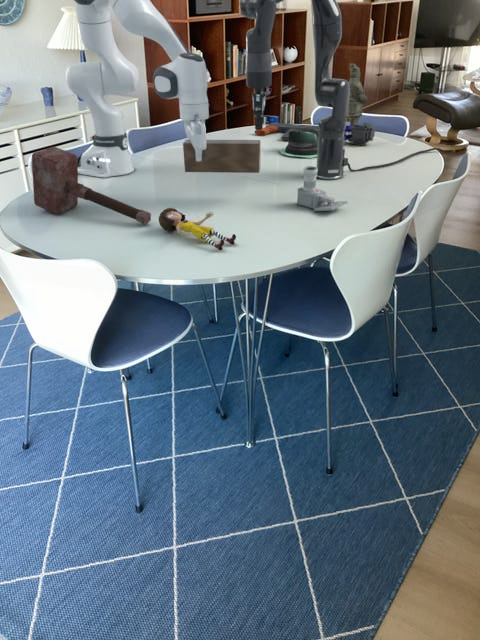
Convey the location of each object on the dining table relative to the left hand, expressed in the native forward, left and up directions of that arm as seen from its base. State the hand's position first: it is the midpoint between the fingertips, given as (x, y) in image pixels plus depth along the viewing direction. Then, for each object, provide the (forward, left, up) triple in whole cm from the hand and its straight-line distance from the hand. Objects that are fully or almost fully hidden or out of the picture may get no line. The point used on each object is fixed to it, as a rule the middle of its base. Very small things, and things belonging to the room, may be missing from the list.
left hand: (196, 157), depth 177 cm
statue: (+32, +117, -14) cm, 123 cm away
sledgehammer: (-25, -23, -14) cm, 37 cm away
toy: (+37, +91, -14) cm, 99 cm away
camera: (+40, +3, -14) cm, 42 cm away
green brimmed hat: (+19, +71, -14) cm, 74 cm away
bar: (+8, +2, -4) cm, 9 cm away
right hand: (+19, +5, +9) cm, 22 cm away
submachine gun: (+5, +101, -14) cm, 102 cm away
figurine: (+12, -31, -14) cm, 36 cm away
